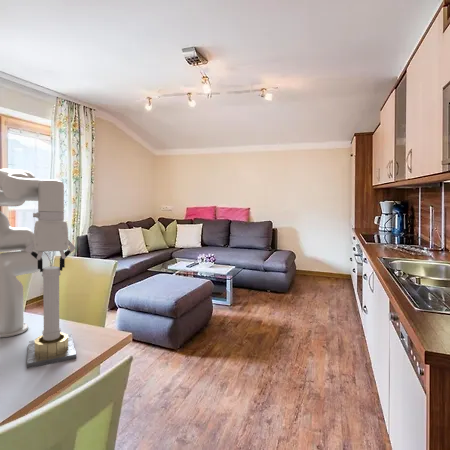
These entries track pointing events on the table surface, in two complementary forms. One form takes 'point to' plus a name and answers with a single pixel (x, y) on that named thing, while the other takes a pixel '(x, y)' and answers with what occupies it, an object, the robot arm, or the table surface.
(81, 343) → the table surface
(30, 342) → the fitting base
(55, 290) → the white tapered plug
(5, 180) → the robot arm
